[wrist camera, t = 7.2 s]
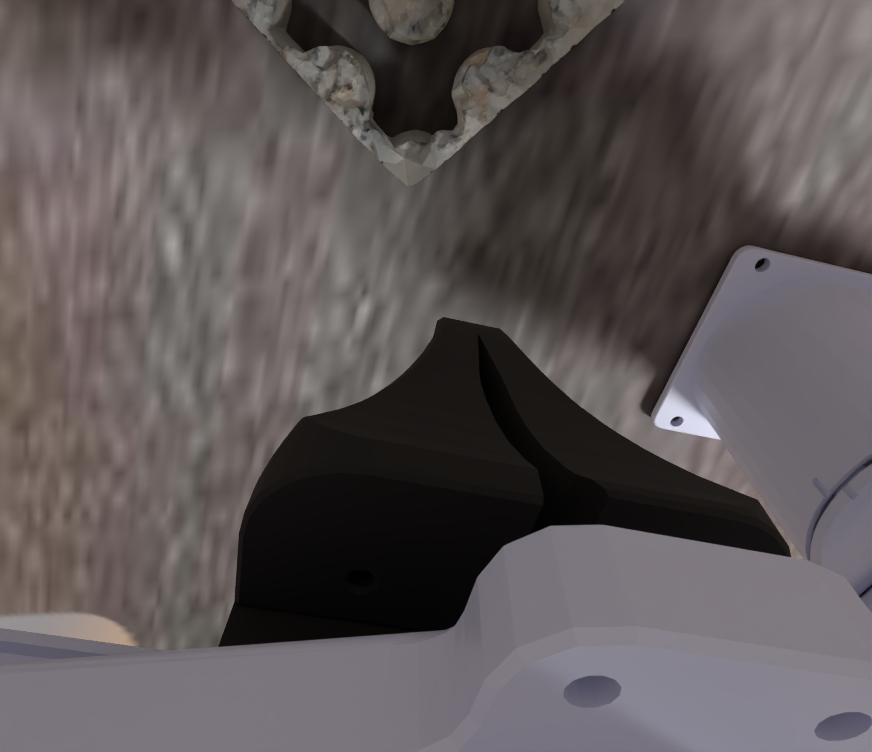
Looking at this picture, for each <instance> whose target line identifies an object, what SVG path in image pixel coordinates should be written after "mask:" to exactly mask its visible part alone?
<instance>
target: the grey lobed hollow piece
mask: <svg viewBox="0 0 872 752" xmlns="http://www.w3.org/2000/svg"><path fill="white" fill-rule="evenodd" d="M231 1H232V2H233V3H234V5H235V6H236V7H237V8H238V9H239V10H240V11H241V12H242V13H243V14H244V16H246V17H247V18H248V19H249V20H250V21H251V22H252V23H253V24H254V25H255V26H256V27H257V29H258V30H259V31H260V32H261V33H262V34H263V35H264V36H265V37H266V38H267V39H268V41H269V42H270V43H271V44H272V45H273V46H274V47H275V48H276V49H277V51H278V53H279V54H280V55H281V56H282V57H283V58H284V59H285V60H286V61H287V62H288V63H289V64H290V65H291V66H292V68H293V69H294V70H295V71H296V72H297V73H298V74H299V75H300V76H301V77H302V78H303V80H304V81H305V82H306V83H307V84H308V85H309V86H310V87H311V88H312V90H313V91H314V92H315V93H316V94H317V95H318V96H319V97H320V98H321V99H322V100H323V102H324V103H325V104H326V105H327V106H328V107H329V108H330V109H331V110H332V111H333V112H334V113H335V115H336V116H337V117H338V118H339V119H340V120H341V121H342V122H343V123H344V125H345V126H346V127H347V128H348V129H349V130H350V131H351V133H352V134H353V135H355V136H356V138H357V139H358V140H359V141H360V142H361V143H362V144H363V145H365V146H366V147H367V148H368V149H369V150H370V151H371V152H372V154H373V155H374V156H375V157H376V158H377V159H378V160H379V161H380V162H381V163H382V164H383V165H384V167H385V168H386V169H387V170H389V171H390V172H391V173H392V174H393V175H395V176H396V177H397V178H398V179H399V180H400V181H402V182H403V183H404V184H405V185H406V186H407V187H409V186H412V185H416V184H417V183H418V182H420V181H421V180H422V179H424V178H425V177H426V176H427V175H429V174H430V173H431V172H433V171H434V170H435V169H437V168H438V167H439V166H440V165H441V164H443V163H444V162H445V161H446V160H447V159H449V158H450V157H451V156H452V155H453V154H455V153H456V152H457V151H458V150H459V149H460V148H461V147H462V146H463V145H464V144H465V143H466V142H467V141H468V140H469V139H470V138H472V137H473V136H474V135H475V134H476V133H477V132H478V131H479V130H481V129H482V128H483V127H484V126H485V125H487V124H488V123H490V122H491V121H492V120H493V119H494V118H495V117H496V116H497V114H498V113H500V112H501V111H502V110H503V109H504V108H506V107H507V106H508V105H509V104H510V103H512V102H513V101H514V100H515V99H516V98H518V97H519V96H521V95H522V94H523V93H524V92H525V91H526V90H528V89H529V88H530V87H531V86H532V85H533V84H534V83H535V82H536V81H538V80H539V79H540V78H541V77H542V76H543V75H544V74H545V73H546V72H547V71H548V70H549V69H550V68H551V67H552V66H553V65H554V64H555V63H556V62H557V61H558V60H559V59H561V58H562V57H563V56H564V55H565V54H566V53H567V52H569V51H570V50H571V49H572V48H573V47H574V46H575V45H577V44H578V43H579V42H580V41H581V40H582V39H583V38H584V37H585V36H586V35H587V34H588V33H589V32H590V31H591V30H592V29H593V28H594V27H595V26H597V25H598V24H599V23H600V22H601V21H603V20H604V19H605V18H606V17H608V16H609V15H610V14H611V13H612V12H613V11H614V10H615V9H616V8H618V7H619V6H620V5H621V4H622V3H623V2H624V1H625V0H538V13H539V16H540V20H541V23H542V27H543V31H544V33H543V35H542V36H541V38H540V39H539V40H538V41H537V42H536V43H535V44H534V45H533V46H532V47H531V48H530V49H529V50H525V51H523V52H520V53H518V52H515V51H511V50H508V49H507V48H506V47H504V46H493V47H486V48H482V49H479V50H477V51H476V52H474V53H473V54H471V55H470V56H469V57H468V58H467V59H466V60H465V61H464V62H463V63H462V64H461V66H460V67H459V69H458V71H457V74H456V76H455V80H454V84H453V88H452V99H453V102H454V105H455V108H456V111H457V119H458V124H457V125H456V127H455V128H454V129H453V130H440V131H437V132H436V133H435V134H434V135H431V134H429V133H427V132H424V131H420V130H411V131H406V132H403V133H400V134H398V135H396V136H394V137H389V136H387V135H386V134H385V133H384V132H383V131H382V130H381V129H380V127H379V126H378V125H377V124H376V122H375V121H374V120H373V111H372V108H373V107H372V105H373V104H374V98H375V87H376V86H375V78H374V74H373V71H372V69H371V67H370V65H369V63H368V61H367V60H366V59H365V58H364V57H363V56H362V55H361V54H360V53H358V52H357V51H355V50H354V49H352V48H349V47H345V46H340V45H335V46H318V47H316V48H313V49H311V50H309V51H306V52H304V50H303V49H302V48H301V47H300V46H299V45H298V44H297V43H296V42H295V41H294V40H293V39H292V38H291V37H290V36H289V34H288V33H287V32H286V30H287V25H288V22H289V18H290V14H291V11H292V0H231ZM368 1H369V6H370V10H371V12H372V14H373V17H374V19H375V20H376V22H377V24H378V26H379V27H380V28H381V29H382V30H383V31H384V32H385V33H386V34H387V36H388V37H389V38H390V39H393V40H396V41H399V42H401V43H406V44H409V45H415V44H420V43H424V42H427V41H430V40H432V39H435V38H436V36H437V35H438V34H439V33H440V32H441V31H442V30H443V28H444V27H445V26H446V25H447V23H448V20H449V18H450V16H451V13H452V10H453V6H454V0H368Z"/></svg>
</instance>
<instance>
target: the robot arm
mask: <svg viewBox="0 0 872 752" xmlns="http://www.w3.org/2000/svg"><path fill="white" fill-rule="evenodd" d="M762 258H765V261H764V264H763V265H762V266H761V267H759V268H755V264H756V263H757V261H758V260H760V259H762ZM677 416H680V417H679V418H678V419H677V420H675V421H671V420H672V419H673V418H674V417H677ZM651 419H652V421H653V423H654V424H655V425H656V427H659V428H662V429H667V430H673V431H678V432H683V433H688V434H693V435H698V436H703V437H708V438H714V439H719V440H721V441H722V442H723V444H724V445H725V446H726V448H727V449H728V451H729V452H730V454H731V455H732V457H733V458H734V459H735V461H736V462H737V464H738V465H739V467H740V468H741V470H742V471H743V472H744V474H745V475H746V477H747V478H748V480H749V481H750V482H751V484H752V485H753V487H754V488H755V490H756V491H757V493H758V494H759V495H760V497H761V498H762V500H763V501H764V503H765V504H766V506H767V507H768V508H769V510H770V511H771V513H772V514H773V516H774V517H775V519H776V520H777V521H778V523H779V524H780V526H781V527H782V529H783V530H784V531H785V533H786V534H787V536H788V537H789V539H790V540H791V542H792V543H793V544H794V546H795V547H796V549H797V550H798V552H799V553H800V555H801V556H802V557H803V559H804V560H803V559H797V558H792V557H791V554H790V549H789V546H788V545H787V543H786V542H785V540H784V539H783V537H782V536H781V534H780V533H779V531H778V530H777V528H776V527H775V525H774V524H773V522H772V521H771V519H770V518H769V516H768V514H767V513H766V511H765V510H764V508H763V507H762V505H761V504H760V502H759V501H758V500H756V499H754V498H751V497H749V496H746V495H744V494H741V493H739V492H736V491H734V490H732V489H729V488H727V487H724V486H722V485H719V484H717V483H714V482H712V481H709V480H707V479H704V478H702V477H699V476H697V475H695V474H693V473H691V472H689V471H686V470H684V469H682V468H680V467H678V466H676V465H674V464H672V463H670V462H668V461H666V460H664V459H662V458H660V457H658V456H656V455H654V454H653V453H651V452H649V451H647V450H645V449H643V448H642V447H640V446H638V445H637V444H635V443H633V442H632V441H630V440H628V439H627V438H625V437H623V436H622V435H620V434H618V433H617V432H615V431H614V430H612V429H611V428H609V427H608V426H606V425H605V424H603V423H602V422H600V421H599V420H598V419H596V418H595V417H594V416H592V415H591V414H590V413H588V412H587V411H586V410H584V409H583V408H581V407H580V406H579V405H578V404H576V403H575V402H574V401H573V400H572V399H570V398H569V397H568V396H567V395H566V394H565V393H564V392H563V391H561V390H560V389H559V388H558V387H557V386H556V385H555V384H554V383H553V382H551V381H550V380H549V379H548V378H547V377H546V376H545V375H544V374H543V373H542V372H541V371H540V370H539V369H538V368H537V367H536V366H535V365H534V364H533V362H532V361H531V360H530V359H529V358H528V357H527V356H526V355H525V354H524V353H523V352H522V351H521V350H520V349H519V348H518V346H517V345H516V344H515V343H514V342H513V341H512V340H511V339H510V338H509V337H508V336H507V335H506V334H505V333H504V332H503V331H502V330H500V329H498V328H493V327H488V326H484V325H479V324H474V323H469V322H464V321H460V320H455V319H450V318H445V317H443V318H441V319H440V320H438V321H437V324H436V328H435V332H434V336H433V338H432V340H431V341H430V343H429V344H428V346H427V347H426V349H425V350H424V352H423V353H422V354H421V355H420V356H419V357H418V359H417V360H416V361H415V362H414V363H413V364H412V365H411V366H410V367H409V368H408V369H407V370H406V371H405V372H404V373H403V374H402V375H401V376H400V377H399V378H397V379H396V380H395V381H394V382H392V383H391V384H390V385H388V386H387V387H385V388H384V389H382V390H381V391H379V392H378V393H376V394H375V395H373V396H371V397H369V398H368V399H365V400H363V401H361V402H358V403H356V404H353V405H350V406H348V407H345V408H342V409H338V410H334V411H330V412H325V413H321V414H317V415H313V416H307V417H304V418H302V419H301V420H300V421H299V422H298V423H297V425H296V426H295V427H294V428H293V429H292V431H291V432H290V433H289V434H288V436H287V437H286V438H285V440H284V441H283V442H282V444H281V445H280V446H279V448H278V449H277V451H276V452H275V453H274V455H273V456H272V458H271V460H270V461H269V463H268V464H267V466H266V468H265V469H264V471H263V473H262V474H261V476H260V478H259V480H258V482H257V484H256V486H255V488H254V490H253V493H252V495H251V498H250V500H249V503H248V505H247V508H246V510H245V513H244V516H243V520H242V524H241V528H240V531H239V542H238V557H237V572H236V587H235V602H234V605H233V608H232V610H231V613H230V616H229V619H228V622H227V624H226V627H225V630H224V633H223V635H222V638H221V641H220V644H219V646H218V647H211V648H198V649H184V650H171V651H165V650H157V649H150V648H143V647H135V646H128V645H120V644H113V643H106V642H98V641H91V640H83V639H76V638H69V637H61V636H53V635H47V634H38V633H31V632H25V631H17V630H10V629H2V628H0V752H872V274H869V273H865V272H861V271H857V270H852V269H848V268H844V267H840V266H836V265H831V264H827V263H823V262H819V261H815V260H810V259H806V258H802V257H798V256H794V255H789V254H785V253H781V252H777V251H772V250H768V249H764V248H760V247H756V246H744V247H741V248H740V249H738V250H737V251H736V252H735V253H734V254H733V256H732V258H731V260H730V262H729V264H728V266H727V267H726V269H725V271H724V273H723V275H722V277H721V279H720V281H719V283H718V285H717V287H716V289H715V291H714V293H713V295H712V297H711V299H710V301H709V302H708V304H707V306H706V308H705V310H704V312H703V314H702V316H701V318H700V320H699V322H698V324H697V326H696V328H695V330H694V332H693V334H692V336H691V337H690V339H689V341H688V343H687V345H686V347H685V349H684V351H683V353H682V355H681V357H680V359H679V361H678V363H677V365H676V367H675V369H674V371H673V372H672V374H671V376H670V378H669V380H668V382H667V384H666V386H665V388H664V390H663V392H662V394H661V396H660V398H659V400H658V402H657V404H656V406H655V407H654V409H653V411H652V414H651Z"/></svg>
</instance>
